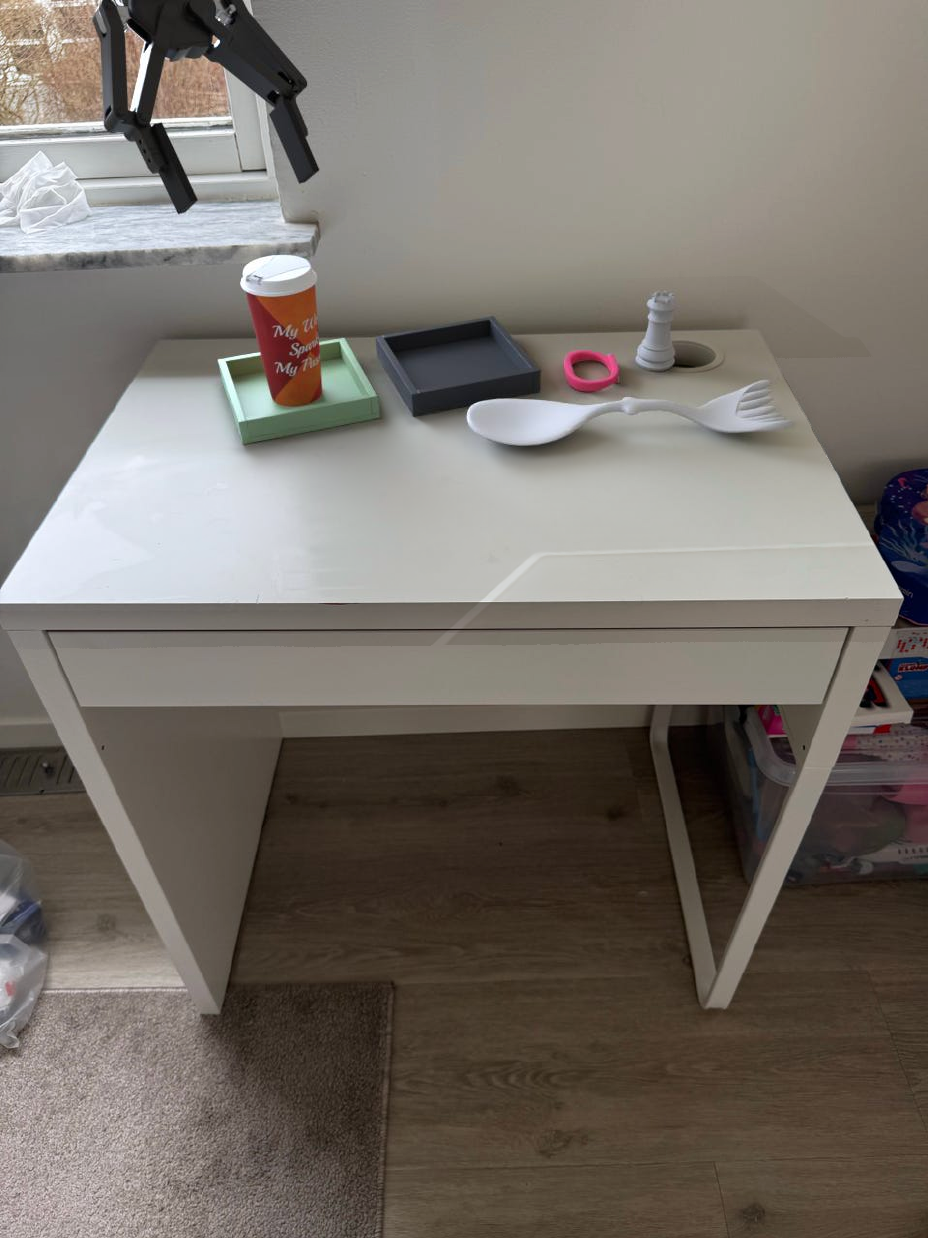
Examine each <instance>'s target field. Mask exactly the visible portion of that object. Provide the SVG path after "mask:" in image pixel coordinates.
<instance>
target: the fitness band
mask: <svg viewBox="0 0 928 1238" xmlns="http://www.w3.org/2000/svg"><path fill="white" fill-rule="evenodd" d="M580 361H595V362H599V363H601V364H603V365H605V366H606V368H607V369H608V371H609V374H610V375H609V376H607V377H605V378H602V379H597V380H589V379H588V380H587V379H583V378H581V377H578V375H576V374H575V371H574V367H573V365H574V364H575V363H578V362H580ZM563 370H564V375H565V378H566V381H567V383H568V385H569V386H570V387H571V388H573V389H575V390H577V391H579V392H596V391H600V390H603V389H606V388H609V387H610V386H611V385H613V384H619V383H620V376H619V373H620V369H619V364H618V362H617V359H616V357H615V355H614V354H613V353H608V354H607V355H606V354H603V353H600V352H598V351H594V350H587V349H577V350H574V351H573V350H572V351H571V352H569V353H568V354H566V356H565V357H564V361H563Z"/></svg>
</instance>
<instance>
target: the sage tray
mask: <svg viewBox="0 0 928 1238" xmlns="http://www.w3.org/2000/svg"><path fill="white" fill-rule="evenodd" d="M319 347H320V361H321V377H322V394H321V396H320V397H319V398H318V399H317V400H316V401H314V402H312V403H310V404H307V405H302V406H283V405H280V404H278V403H276V402H274V401H273V399H272V397H271V394H270V390H269V386H268V383H267V379H266V375H265V371H264V367H263V363H262V358H261V354H260V351H259V352H254V353H248V354H242V355H236V356H235V355H234V356H230V357H224V358H218V359H217V363H218V368H219V372H220V377H221V381H222V384H223V387H224V391H225V393H226V396H227V397H226V398H227V399H228V403H229V407H230V409H231V412H232V415H233V418H234V422H235V424H236V427H237V429H238V434H239V437H240V440H241V443H242V445H247V444H252V443H257V442H262V441H268V440H271V439H279V438H283V437H288V436H294V435H299V434H304V433H308V432H309V433H310V432H314V431H319V430H320V431H321V430H324V429H329V428H336V427H340V426H346V425H350V424H355V423H360V422H366V421H370V420H377V419H380V418H381V417H380V415H381V414H380V405H379V396H378V395H377V392H376V391H375V389H374V388H373V385H372V384H371V382H370V380H369V378H368V377H367V375H366V373H365V371H364V369H363V368H362V366H361V364H360V362H359V361H358V359H357V357H356V355H355V353H354V352H353V350H352V349H351V347H350V345H349V343H348V341H347V340H346V338H345V337H341V338H335V339H329V340H324V341H323V340H322V341H319Z"/></svg>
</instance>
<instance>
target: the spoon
mask: <svg viewBox="0 0 928 1238" xmlns="http://www.w3.org/2000/svg"><path fill="white" fill-rule="evenodd" d="M772 384H773V383H772V380H771V379H762V380H758V381H755V382H753V383H750V384H748V385H747V386H744V387H742V388H740V389H737V390H735V391H733V392H729V393H727V394H723V395H721V396H718V397H716V398H713V399H711V400H710V401H708V402H706V403H705V404H703V405H701V406H697V407H693V406H688V405H685V404H682V403H679V402H676V401H672V400H667V399H643V398H642V399H641V398H635V397H632V396H625V397H623V398H622V400H616V401H608V402H603V403H595V404H577V403H567V402H561V401H554V400H553V401H552V400H545V399H530V398H529V399H526V398H505V399H493V400H486V401H481V402H478V403H475V404H473V405H470V407H468V409H467V413H466V421H467V425H468V427H469V428H470V430H471V431H472V432H474V433H475V434H476V435H478V436H480V437H482V438H484V439H487V440H488V441H491V442H495V443H497V444H503V445H508V446H518V447H519V446H520V447H527V446H539V445H544V444H548V443H552V442H553V443H554V442H555V441H558V440H560V439H563V438H566V437H567V436H569V435H571V434H572V433H574V432H575V431H576V430H578V429H579V428H581V427H582V426H584V425H586V424H587V423H588V422H589V421H591V420H593V419H594V418H597V417H599V416H602V415H605V414H609V413H610V414H611V413H624V414H625V415H628V416H635V415H638V414H639V413H644V412H667V413H671V414H674V415H678V416H680V417H683V418H685V419H686V420H689V421H692V422H693V423H695V424H697V425H699V426H702V427H704V428H706V429H708V430H712V431H716V432H718V433H719V432H720V433H734V434H736V433H739V434H740V433H757V432H758V433H762V432H778V431H784V430H787V429H790V428H791V427H793V425H794V420H792V419H788V418H787V417H785V416H783V413H782V412H774V411H775V410H776V409H777V406H775V405H767V404H769V403H771V402H772V401H774V397H773V396H769V395H771V394H772V392H773V390H772V389H768V388H770V387H771V386H772ZM765 405H767V406H765ZM772 412H774V413H772Z"/></svg>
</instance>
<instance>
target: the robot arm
mask: <svg viewBox="0 0 928 1238" xmlns="http://www.w3.org/2000/svg"><path fill="white" fill-rule="evenodd" d="M117 2H118V3H119V4H120V5H117V4H116V3H115V1H113V0H101V2H100V3H99V5H98V7H97V9H96V10H95V11H94V13H93V15H92V18H91V20H92V24H93V26H94V29H95V32H96V35H97V38H98V41H99V43H100V44H99V45H100V61H101V62H100V65H101V66H100V67H101V91H102V92H101V94H102V96H101V97H102V120H103V127H104V129H105V131H107V132H108V133H110V134H116V133H117V132H119V133H122V134H123V137H124V138H125V139H126V141H128V142H130V143H131V142H132V143H135V144H136V147H137V148H138V150H139V152H140V155H141V157H142V159H143V161H144V163H145V165H146V168H147V169H148V170H149V172H150V173H151V174H152V175H156V174H158V175H159V177H160V179H161V182H162V184H163V186H164V188H165V190H166V193H167V195H168V196H169V198H170V201H171V202H172V205H173V207H174V209H175V211H176V213H177V215H182V214H184V213H187V212H188V211H189V210H190V209H191V208H192V207H193V206H194V205H195V204H196V203H197V202H198V201H199V199H198V196H197V195H196V193H195V190H194V189H193V186H192V184H191V182H190V179H189V177H188V176H187V173H186V171H185V169H184V167H183V165H182V163H181V161H180V158H179V156H178V154H177V152H176V150H175V148H174V146H173V143H172V141H171V138H170V137H169V135H168V132H167V130H166V128H165V126H164V124H163V122H162V121H161V122H156V123H153V124H152V125H151V122H152V118H153V113H154V110H155V105H156V100H157V95H158V91H159V86H160V83H161V82H160V81H161V77H162V73H163V69H164V64H165V59H166V60H168V61H169V63H174V62H179V61H180V60H183V59H190V60H195V59H201V58H202V56H203V57H204V58H206V59H207V60H208V61H210V63H216V64H217V63H218V64H219V65H220V66H222V67H223V68H224V69H225V70H226V71H228V72H229V73H230V74H231V75H233V76H234V77H235V78H236V79H237V80H239V81H240V82H241V83H243V84H244V85H245V86H246V87H247V88H249V89H250V90H251V91H253V92H254V93H255V94H256V95H257V96H258V97H260V98H261V99H263V100H264V101H265V102H266V103H267V104H268V105H270V106H271V107H272V108H273V109H272V110H271V112H269V113H268V115H269V118H270V120H271V123H272V124H273V125H272V126H273V128H274V130H275V131H276V133H277V137H278V138H279V141H280V143H281V145H282V148H283V150H284V152H285V155H286V157H287V160H288V162H289V164H290V166H291V169H292V171H293V173H294V175H295V178H296V180H297V182H298V184H299V185H301V184H304V183H306V182H307V181H309V180H310V179H311V178H313V176H315V175H316V174H317V173H318V172H319V171H320V168H319V165H318V163H317V161H316V159H315V156H314V154H313V151H312V149H311V147H310V144H309V143H308V140H307V137H308V136H309V129H308V127H307V125H306V122H305V120H304V118H303V114H302V113H301V110H300V108H299V107H298V104H297V98H298V96H299V95H300V94H301V93H303V92H304V90H306V88H307V87H308V80H307V79H306V77H305V76H304V75H303V74H302V73H301V71H300V69H298V68H297V67H296V65H295V64H294V62H292V61H291V59H289V57H288V56H287V54H286V53H284V51H283V50H282V49H281V48H280V46H279V45H277V43H276V42H275V41H274V39H273V38H272V37H271V36H270V35H269V34H268V33H267V31H266V30H265V29H264V28H263V27H262V25H261V24H260V23H259V22H258V21H257V20H256V18H255V17H254V16H253V14H252V13H250V11H249V9H248V7H247V6H246V3H245V2H244V0H117ZM128 29H129V30H130V31H132V32H133V33H134V34H135V35H136V36H138V38H140V39H141V40H142V41H143V42H144V43H143V46H142V52H141V55H140V59H139V64H140V65H139V69H138V74H137V79H136V84H135V88H134V91H133V97H132V102H131V105H130V109H129V98H128V76H127V75H128V71H127V48H126V31H127V30H128ZM214 37H215V38H217V40H216V41H215V43H213V39H214Z"/></svg>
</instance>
